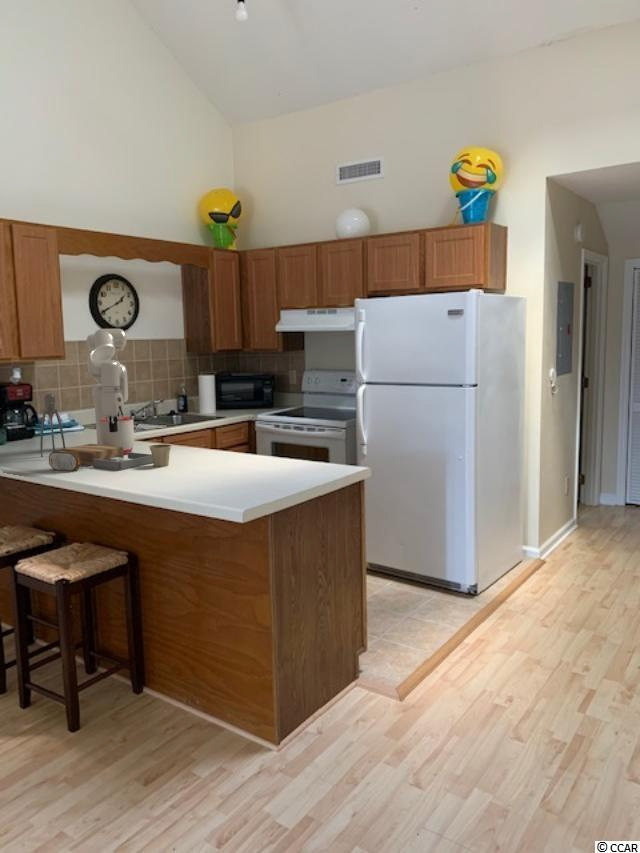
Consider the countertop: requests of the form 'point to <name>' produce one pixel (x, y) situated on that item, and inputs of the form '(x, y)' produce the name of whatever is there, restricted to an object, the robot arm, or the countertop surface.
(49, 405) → the juicer
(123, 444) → the citrus juicer
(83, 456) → the board
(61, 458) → the tin
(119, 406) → the robot arm
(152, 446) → the flower pot
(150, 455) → the tray
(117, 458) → the tile
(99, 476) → the countertop surface
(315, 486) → the countertop surface
